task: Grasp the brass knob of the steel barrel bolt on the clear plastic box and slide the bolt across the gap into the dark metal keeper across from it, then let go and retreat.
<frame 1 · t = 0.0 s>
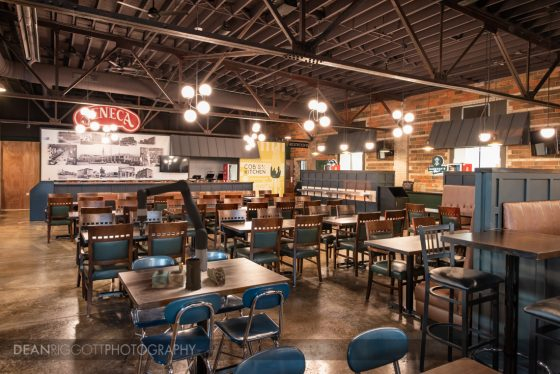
hand: (142, 235, 288), 29 cm above the table, fingers open, 8 cm apart
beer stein: (192, 289, 244), on the table
taco: (216, 281, 264), on the table
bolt: (176, 267, 256), point 12 cm above the table, slide at 0.0 cm
clear plastic box: (169, 284, 256), on the table
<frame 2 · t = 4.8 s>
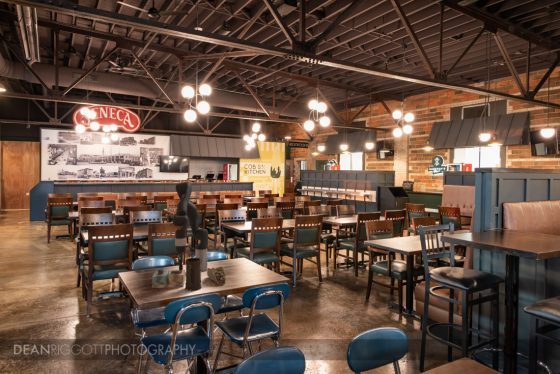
hand: (180, 269, 257), 10 cm above the table, fingers closed on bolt, 3 cm apart
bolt: (176, 267, 256), point 11 cm above the table, slide at 0.0 cm, touching gripper
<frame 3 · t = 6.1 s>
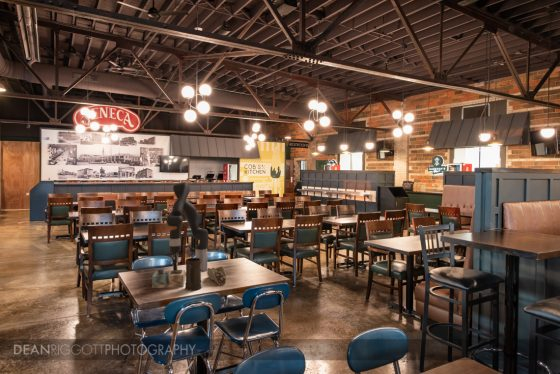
hand: (175, 269, 256), 10 cm above the table, fingers closed on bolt, 3 cm apart
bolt: (171, 268, 256), point 11 cm above the table, slide at 3.8 cm, touching gripper
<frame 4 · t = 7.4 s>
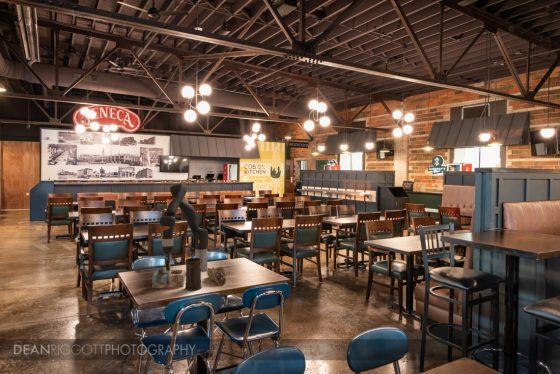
hand: (168, 269, 255), 10 cm above the table, fingers closed on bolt, 3 cm apart
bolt: (163, 268, 255), point 11 cm above the table, slide at 8.7 cm, touching gripper
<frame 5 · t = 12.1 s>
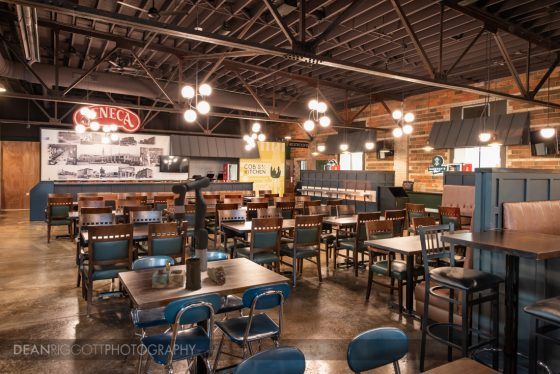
hand: (179, 234, 268), 33 cm above the table, fingers open, 8 cm apart
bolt: (163, 268, 255), point 12 cm above the table, slide at 8.7 cm
at the end: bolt slide at 8.7 cm; the gripper is holding nothing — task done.
